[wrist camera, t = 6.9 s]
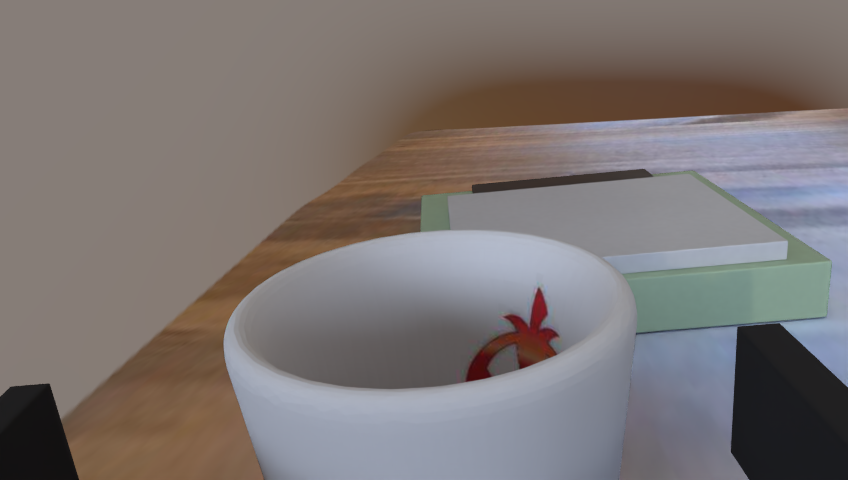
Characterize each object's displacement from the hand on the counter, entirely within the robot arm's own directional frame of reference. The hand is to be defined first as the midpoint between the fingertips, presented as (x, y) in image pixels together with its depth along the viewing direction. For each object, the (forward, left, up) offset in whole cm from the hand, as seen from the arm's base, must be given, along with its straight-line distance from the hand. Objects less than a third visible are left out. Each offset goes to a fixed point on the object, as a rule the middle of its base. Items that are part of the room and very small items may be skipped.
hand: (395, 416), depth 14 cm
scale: (+8, +21, -6) cm, 23 cm away
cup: (0, +2, -6) cm, 6 cm away
